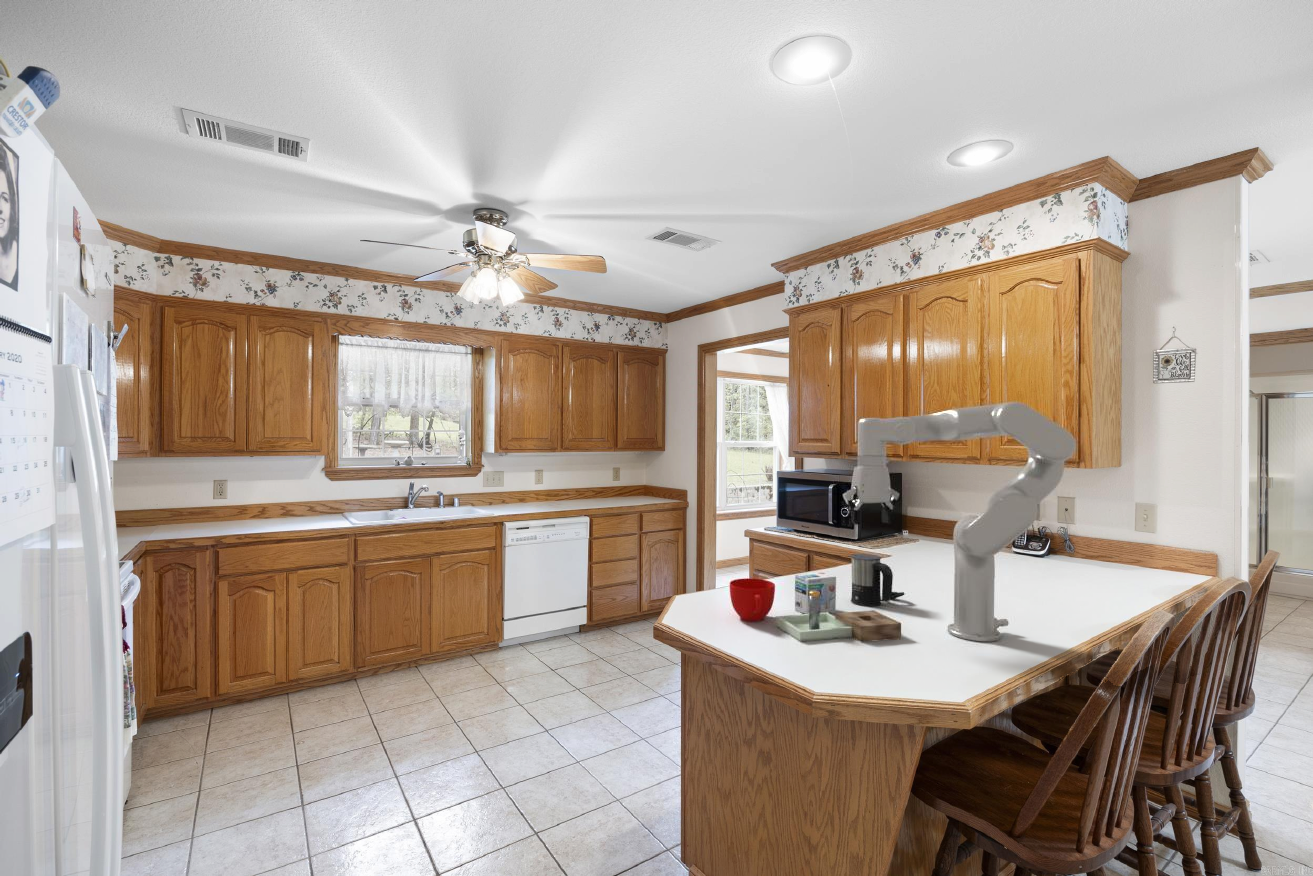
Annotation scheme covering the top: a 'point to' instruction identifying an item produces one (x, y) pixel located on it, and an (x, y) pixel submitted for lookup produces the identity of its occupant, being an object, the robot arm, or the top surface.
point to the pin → (814, 610)
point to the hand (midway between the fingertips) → (871, 523)
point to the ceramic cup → (752, 598)
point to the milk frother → (871, 581)
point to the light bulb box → (815, 583)
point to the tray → (801, 631)
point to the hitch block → (870, 625)
